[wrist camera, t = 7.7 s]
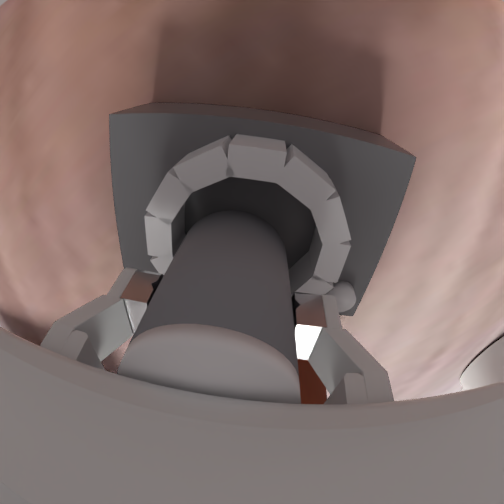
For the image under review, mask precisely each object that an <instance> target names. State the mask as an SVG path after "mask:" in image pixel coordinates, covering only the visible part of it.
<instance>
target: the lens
mask: <svg viewBox="0 0 504 504" xmlns="http://www.w3.org/2000/svg"><path fill="white" fill-rule="evenodd" d="M117 374H118V375H122V376H125V377H129V378H133V379H136V380H140V381H144V382H148V383H152V384H156V385H161V386H165V387H170V388H174V389H179V390H184V391H189V392H195V393H200V394H206V395H213V396H219V397H226V398H234V399H242V400H251V401H262V402H274V403H290V404H301V397H300V383H299V371H298V359H297V348H296V337H295V327H294V317H293V307H292V298H291V289H290V280H289V271H288V263H287V254H286V249H285V246H284V243H283V241H282V239H281V237H280V235H279V234H278V233H277V231H276V230H275V229H274V228H273V227H272V226H271V225H270V224H269V223H267V222H266V221H265V220H263V219H261V218H260V217H257V216H255V215H253V214H250V213H247V212H242V211H233V210H229V211H220V212H215V213H213V214H210V215H207V216H206V217H204V218H202V219H200V220H199V221H198V222H196V223H195V224H194V225H193V226H192V227H191V229H190V230H189V231H188V233H187V235H186V236H185V238H184V240H183V242H182V243H181V245H180V247H179V249H178V251H177V252H176V254H175V256H174V258H173V260H172V261H171V263H170V265H169V267H168V269H167V271H166V272H165V274H164V276H163V278H162V280H161V282H160V284H159V286H158V287H157V289H156V291H155V293H154V295H153V297H152V299H151V301H150V303H149V305H148V307H147V309H146V311H145V313H144V315H143V317H142V319H141V321H140V323H139V325H138V327H137V329H136V331H135V333H134V335H133V337H132V339H131V341H130V343H129V346H128V348H127V350H126V352H125V354H124V356H123V358H122V361H121V363H120V365H119V367H118V371H117Z"/></svg>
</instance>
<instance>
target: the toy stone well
mask: <svg viewBox="0 0 504 504" xmlns="http://www.w3.org/2000/svg"><path fill="white" fill-rule="evenodd" d="M109 131H110V158H111V174H112V186H113V196H114V206H115V214H116V222H117V229H118V236H119V242H120V249H121V255H122V260H123V266H124V268H126V267H128V268H133V269H137V270H138V269H139V270H144V271H150V272H155V273H160V274H163V275H164V274H165V272H166V271H167V269H168V267H169V265H170V263H171V261H172V260H173V258H174V256H175V254H176V252H177V251H178V249H179V247H180V245H181V243H182V242H183V240H184V238H185V236H186V235H187V233H188V231H189V230H190V229H191V227H192V226H193V225H194V224H195V223H196V222H198V221H199V220H200V219H202V218H204V217H206V216H207V215H210V214H213V213H215V212H220V211H229V210H233V211H242V212H247V213H250V214H253V215H255V216H257V217H260V218H261V219H263V220H265V221H266V222H267V223H269V224H270V225H271V226H272V227H273V228H274V229H275V230H276V231H277V233H278V234H279V235H280V237H281V239H282V241H283V243H284V246H285V249H286V254H287V263H288V271H289V280H290V289H291V297H292V294H293V292H300V293H310V294H320V295H321V294H323V295H334V296H335V298H336V302H337V307H338V311H339V315H346V316H353V315H354V313H355V311H356V309H357V307H358V305H359V303H360V301H361V299H362V297H363V295H364V293H365V291H366V288H367V286H368V284H369V282H370V280H371V278H372V276H373V273H374V271H375V269H376V267H377V264H378V262H379V260H380V257H381V255H382V253H383V250H384V248H385V246H386V243H387V241H388V238H389V236H390V233H391V231H392V228H393V226H394V223H395V220H396V218H397V215H398V212H399V209H400V207H401V204H402V201H403V198H404V195H405V192H406V189H407V186H408V183H409V180H410V177H411V174H412V171H413V167H414V164H415V161H416V157H415V156H414V155H412V154H411V153H409V152H408V151H406V150H404V149H403V148H401V147H400V146H398V145H396V144H395V143H393V142H392V141H390V140H388V139H387V138H385V137H383V136H381V135H379V134H375V133H372V132H368V131H365V130H361V129H357V128H354V127H350V126H346V125H342V124H337V123H333V122H329V121H324V120H319V119H315V118H310V117H305V116H299V115H294V114H288V113H282V112H275V111H268V110H261V109H253V108H245V107H235V106H225V105H212V104H194V103H149V104H145V105H141V106H137V107H133V108H129V109H126V110H122V111H119V112H115V113H112V114H109Z"/></svg>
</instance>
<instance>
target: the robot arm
mask: <svg viewBox="0 0 504 504" xmlns="http://www.w3.org/2000/svg"><path fill="white" fill-rule="evenodd" d="M163 276H164V275H163V274H160V273H155V272H150V271H144V270H139V269H138V270H137V269H133V268H128V267H126V268H124V269H123V270H122V272H121V273H120V275H119V276H118V278H117V280H116V281H115V283H114V284H113V286H112V287H111V289H110V291H109V292H108V294H107V295H102V296H100V297H98V298H96V299H94V300H93V301H91V302H89V303H87V304H85V305H83V306H82V307H80V308H78V309H76V310H74V311H73V312H71V313H69V314H67V315H65V316H64V317H62V318H60V319H58V320H57V321H55V322H54V324H53V325H52V327H51V328H50V330H49V331H48V333H47V335H46V336H45V338H44V340H43V341H42V343H41V345H40V346H39V345H36V344H34V343H32V342H30V341H28V340H26V339H23V338H21V337H19V336H17V335H15V334H13V333H11V332H9V331H7V330H5V329H3V328H2V327H0V504H504V337H502V338H501V339H499V340H498V341H496V342H495V343H494V344H492V345H491V346H490V347H489V348H487V349H486V350H485V351H484V352H483V353H481V354H480V355H479V356H478V357H477V358H476V359H475V360H474V361H473V362H472V363H471V364H470V365H469V366H468V367H467V369H466V370H465V371H464V372H463V374H462V376H461V378H460V384H461V386H462V389H461V392H456V393H451V394H445V395H439V396H433V397H427V398H420V399H412V400H403V401H394V398H393V394H392V389H391V385H390V381H389V377H388V373H387V371H386V370H385V369H384V368H383V367H382V366H381V365H380V364H379V363H378V362H377V361H376V360H375V359H374V357H373V356H372V355H371V354H370V353H369V352H368V351H367V350H366V349H365V348H364V347H363V346H362V345H361V344H360V343H359V342H358V341H357V340H356V339H355V338H354V337H353V336H352V335H351V334H350V333H349V332H348V331H347V330H346V329H342V325H341V320H340V316H339V311H338V307H337V302H336V298H335V296H334V295H323V294H321V295H320V294H310V293H300V292H293V294H292V297H291V298H292V307H293V317H294V327H295V337H296V348H297V359H305V360H308V362H309V363H310V365H311V366H312V368H313V369H314V371H315V372H316V374H317V375H318V377H319V378H320V380H321V381H322V383H323V384H324V386H325V387H326V389H327V390H328V391H329V393H330V394H331V395H330V396H329V397H328V399H327V400H326V401H325V403H324V404H290V403H274V402H262V401H251V400H242V399H234V398H226V397H219V396H213V395H206V394H200V393H195V392H189V391H184V390H179V389H174V388H170V387H165V386H161V385H156V384H152V383H148V382H144V381H140V380H136V379H133V378H129V377H125V376H122V375H118V374H115V373H112V372H108V371H105V369H104V367H103V365H102V363H101V361H102V360H103V359H105V358H106V357H107V356H108V355H110V354H111V353H112V352H113V351H114V350H116V349H117V348H118V347H119V346H121V345H122V344H123V343H124V342H125V341H127V340H128V339H129V338H130V337H132V336H133V334H134V333H135V331H136V329H137V327H138V325H139V323H140V321H141V319H142V317H143V315H144V313H145V311H146V309H147V307H148V305H149V303H150V301H151V299H152V297H153V295H154V293H155V291H156V289H157V287H158V286H159V284H160V282H161V280H162V278H163Z"/></svg>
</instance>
